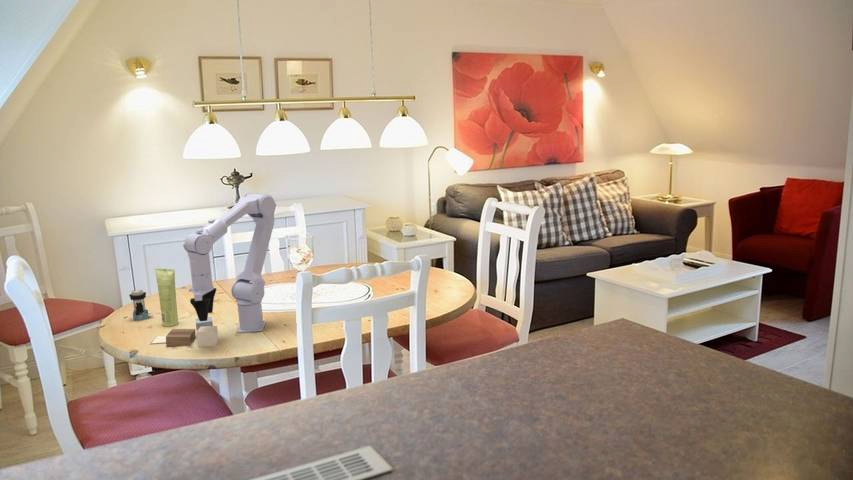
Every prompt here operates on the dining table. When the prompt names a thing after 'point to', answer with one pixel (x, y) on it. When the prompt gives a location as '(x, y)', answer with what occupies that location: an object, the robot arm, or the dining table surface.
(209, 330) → the cream cube
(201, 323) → the slate cube
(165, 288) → the tube
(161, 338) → the swatch
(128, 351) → the dining table surface
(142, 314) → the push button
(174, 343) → the walnut block
